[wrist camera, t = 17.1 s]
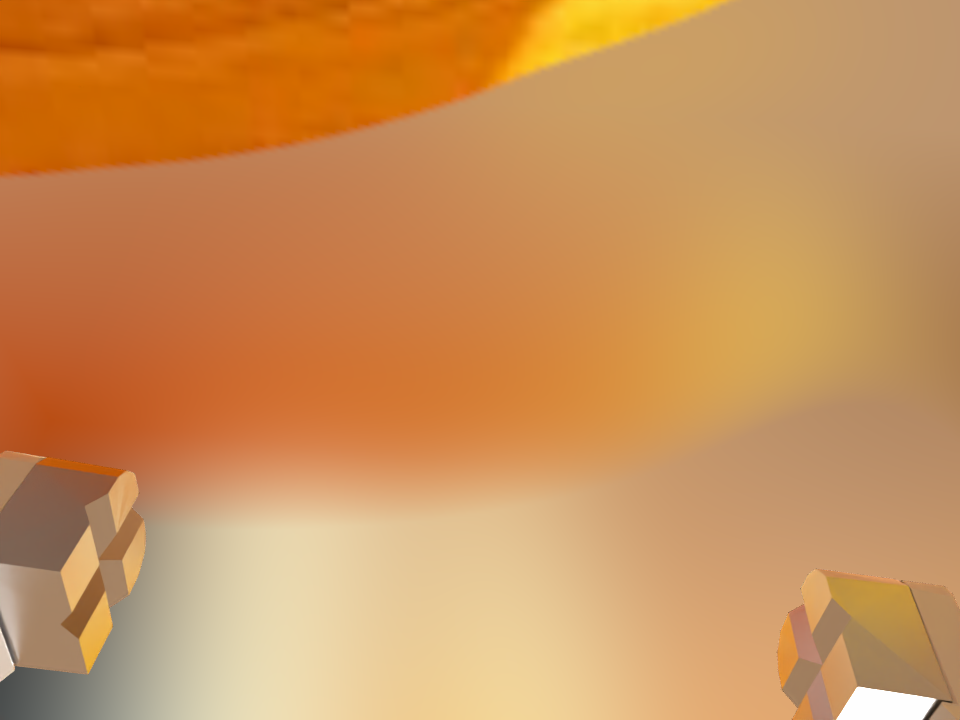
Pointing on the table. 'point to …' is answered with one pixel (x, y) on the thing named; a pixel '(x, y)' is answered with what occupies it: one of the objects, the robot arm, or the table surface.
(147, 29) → the table surface
